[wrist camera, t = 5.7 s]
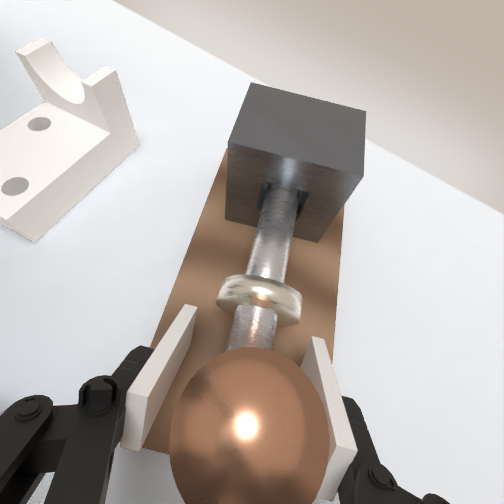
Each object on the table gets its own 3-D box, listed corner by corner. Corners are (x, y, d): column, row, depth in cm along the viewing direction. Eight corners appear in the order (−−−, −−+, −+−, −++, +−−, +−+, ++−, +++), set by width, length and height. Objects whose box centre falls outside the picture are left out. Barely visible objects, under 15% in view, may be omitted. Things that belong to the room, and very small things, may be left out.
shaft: (264, 457, 15) (339, 566, 6) (181, 436, 15) (124, 510, 6) (303, 215, 23) (362, 98, 14) (249, 202, 23) (270, 75, 14)
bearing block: (317, 243, 23) (363, 176, 15) (224, 219, 23) (227, 141, 15) (324, 189, 25) (365, 111, 18) (241, 168, 25) (250, 82, 18)
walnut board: (313, 484, 16) (322, 493, 15) (122, 436, 16) (114, 440, 15) (340, 188, 28) (346, 178, 26) (226, 160, 28) (226, 148, 26)
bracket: (83, 120, 28) (42, 36, 22) (140, 147, 27) (115, 69, 21) (-31, 206, 22) (-137, 128, 16) (37, 244, 22) (-44, 179, 15)
